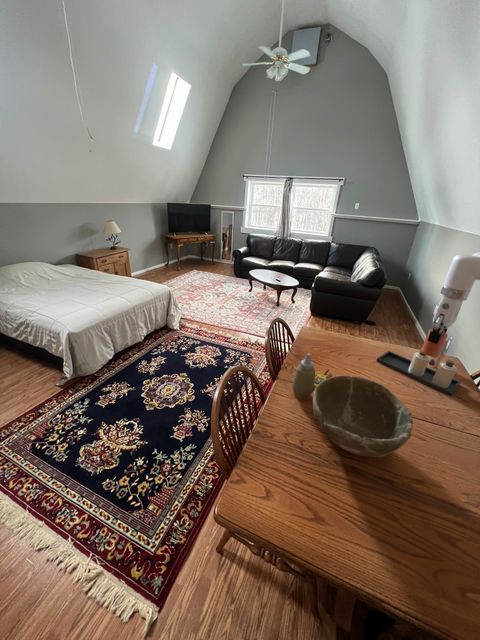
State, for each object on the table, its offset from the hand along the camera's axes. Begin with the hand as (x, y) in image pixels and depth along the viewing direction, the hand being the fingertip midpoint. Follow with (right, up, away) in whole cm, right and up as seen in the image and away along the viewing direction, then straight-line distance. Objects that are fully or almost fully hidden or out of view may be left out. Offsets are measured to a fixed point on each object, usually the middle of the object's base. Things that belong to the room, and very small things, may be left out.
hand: (435, 339), depth 98 cm
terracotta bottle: (0, -5, +3) cm, 6 cm away
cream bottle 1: (+6, -16, +20) cm, 26 cm away
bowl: (-37, -31, -13) cm, 50 cm away
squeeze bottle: (-48, -22, +5) cm, 53 cm away
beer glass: (+18, -14, +27) cm, 35 cm away
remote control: (-37, -18, +14) cm, 44 cm away
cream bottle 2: (+12, -19, +13) cm, 26 cm away
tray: (+6, -17, +20) cm, 27 cm away
